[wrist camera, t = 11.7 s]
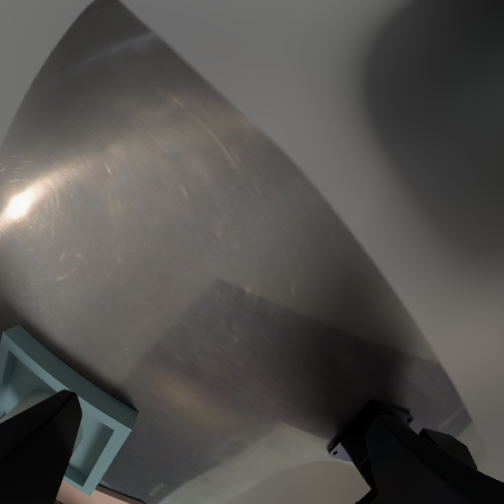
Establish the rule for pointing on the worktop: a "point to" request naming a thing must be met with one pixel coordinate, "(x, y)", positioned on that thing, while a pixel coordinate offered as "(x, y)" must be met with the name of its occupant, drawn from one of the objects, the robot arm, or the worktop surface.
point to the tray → (90, 397)
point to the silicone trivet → (100, 500)
